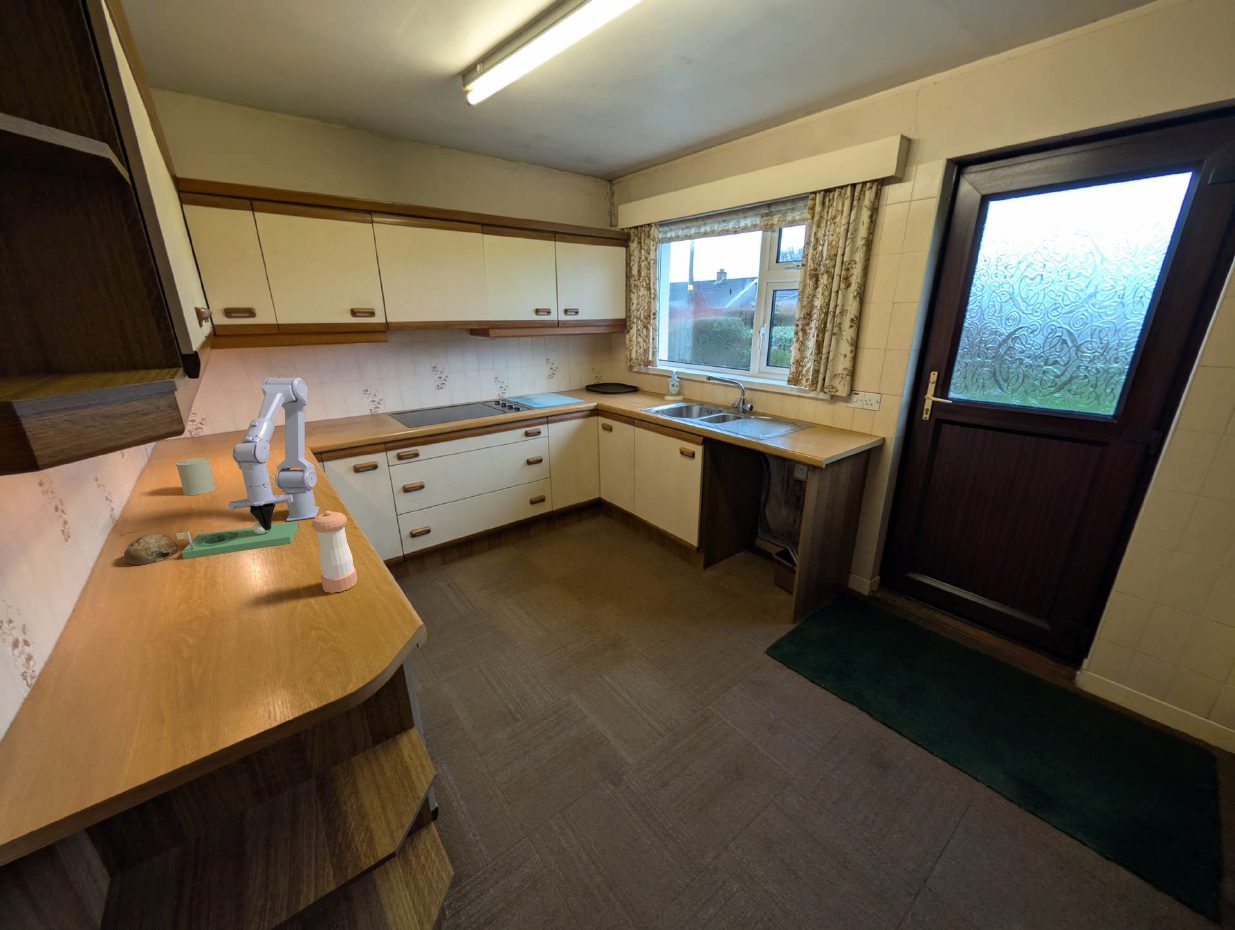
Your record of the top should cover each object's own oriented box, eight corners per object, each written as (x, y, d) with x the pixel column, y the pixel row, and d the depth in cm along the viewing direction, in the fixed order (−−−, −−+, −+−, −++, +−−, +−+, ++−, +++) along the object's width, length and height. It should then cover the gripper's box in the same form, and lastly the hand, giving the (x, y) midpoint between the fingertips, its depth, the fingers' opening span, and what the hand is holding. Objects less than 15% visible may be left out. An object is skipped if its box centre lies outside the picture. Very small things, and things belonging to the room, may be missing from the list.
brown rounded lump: (143, 579, 123) (146, 556, 120) (110, 560, 123) (113, 536, 120) (184, 561, 132) (188, 539, 129) (153, 544, 132) (156, 521, 130)
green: (197, 541, 136) (191, 518, 134) (298, 527, 146) (293, 505, 144) (181, 559, 126) (174, 535, 124) (290, 543, 135) (286, 520, 133)
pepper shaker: (319, 595, 110) (304, 519, 104) (328, 579, 117) (314, 507, 111) (353, 591, 112) (341, 515, 106) (361, 575, 119) (349, 504, 113)
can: (188, 488, 177) (180, 458, 174) (219, 485, 181) (212, 455, 177) (179, 497, 169) (170, 464, 166) (212, 493, 173) (204, 461, 169)
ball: (264, 532, 139) (251, 527, 137) (272, 522, 139) (258, 517, 137) (263, 538, 136) (249, 533, 134) (270, 528, 136) (257, 523, 134)
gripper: (221, 491, 127) (232, 538, 130) (286, 484, 133) (294, 529, 136) (229, 484, 133) (239, 529, 136) (290, 477, 139) (298, 521, 142)
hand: (267, 529), depth 137 cm, fingers closed, pressing on ball
